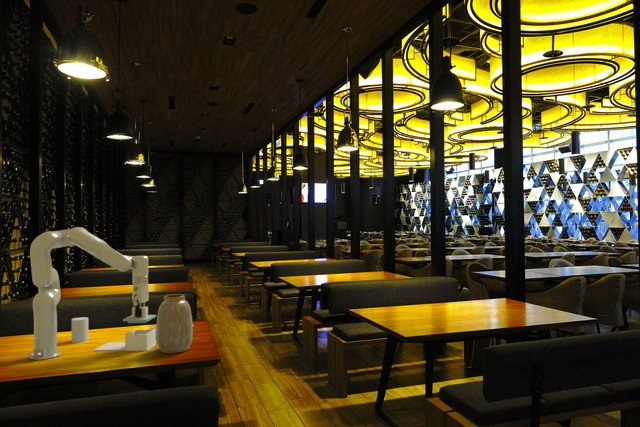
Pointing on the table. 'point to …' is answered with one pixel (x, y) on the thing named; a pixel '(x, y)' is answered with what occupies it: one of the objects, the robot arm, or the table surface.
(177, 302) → the vase
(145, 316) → the lid
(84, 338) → the cup
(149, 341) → the box
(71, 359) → the table surface
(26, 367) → the table surface
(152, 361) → the table surface
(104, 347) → the mat
